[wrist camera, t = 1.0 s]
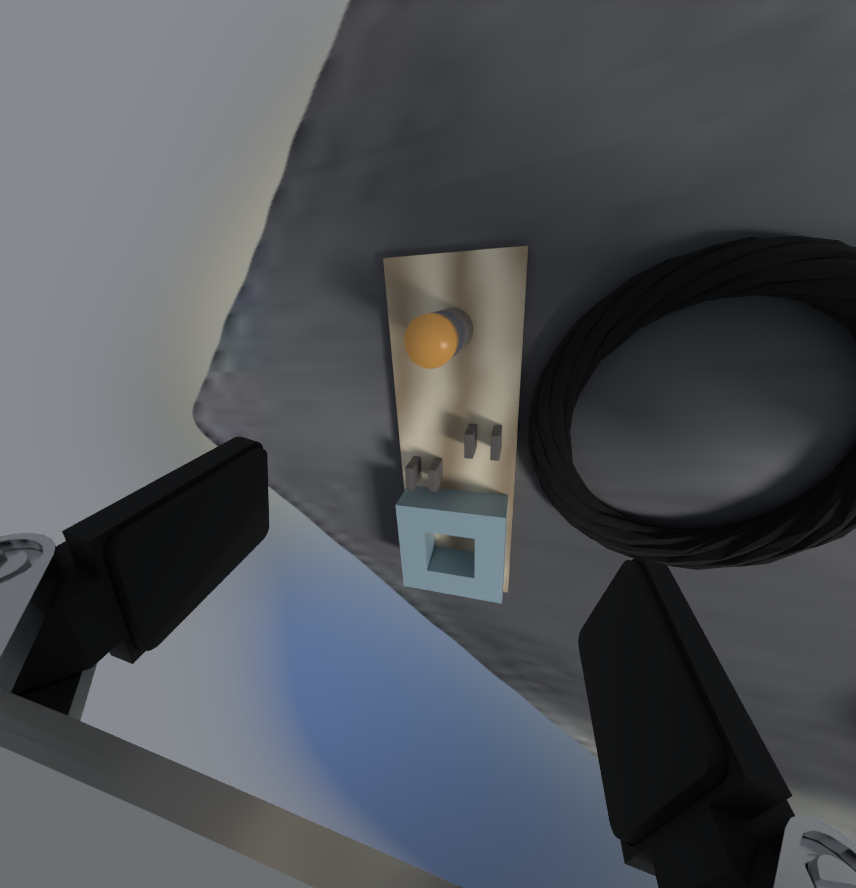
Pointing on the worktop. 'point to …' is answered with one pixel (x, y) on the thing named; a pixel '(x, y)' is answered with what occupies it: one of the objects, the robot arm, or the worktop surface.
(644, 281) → the cable lock
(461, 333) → the connector plug
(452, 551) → the end holder
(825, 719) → the worktop surface
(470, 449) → the board
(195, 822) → the robot arm
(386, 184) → the worktop surface
